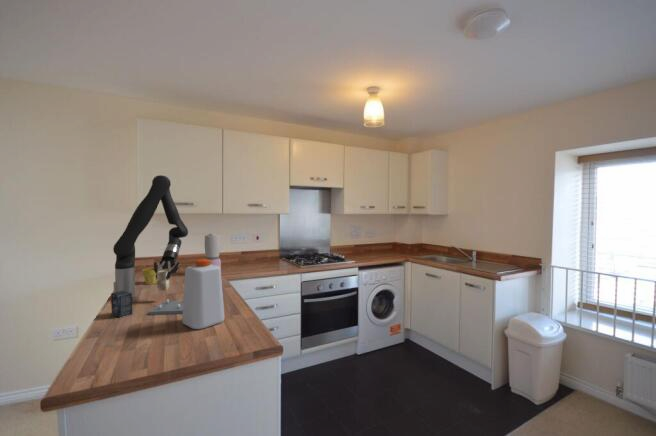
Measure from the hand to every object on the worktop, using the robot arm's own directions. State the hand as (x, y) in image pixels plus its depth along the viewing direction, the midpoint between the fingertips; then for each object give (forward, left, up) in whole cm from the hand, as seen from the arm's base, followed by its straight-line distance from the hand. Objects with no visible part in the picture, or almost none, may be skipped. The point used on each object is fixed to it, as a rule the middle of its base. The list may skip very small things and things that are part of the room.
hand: (162, 278), depth 163 cm
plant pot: (-26, +45, -13) cm, 54 cm away
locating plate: (+10, -13, -13) cm, 21 cm away
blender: (+9, +70, -13) cm, 72 cm away
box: (-11, -19, -13) cm, 25 cm away
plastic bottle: (+31, -34, -13) cm, 48 cm away
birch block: (0, +1, -6) cm, 6 cm away
